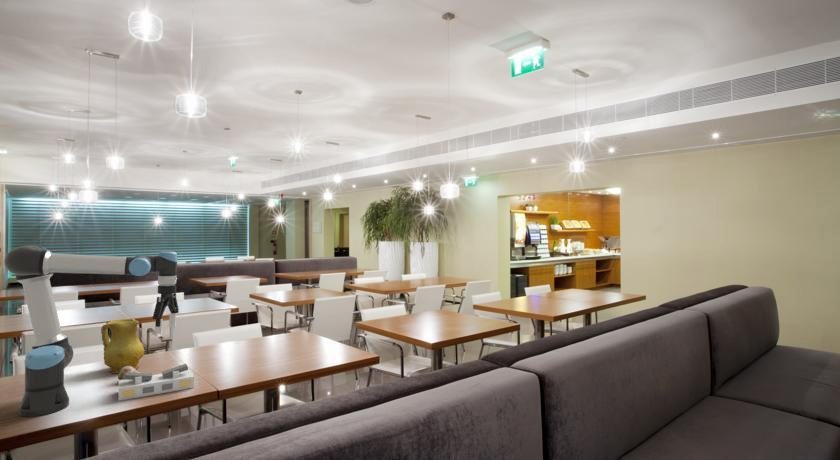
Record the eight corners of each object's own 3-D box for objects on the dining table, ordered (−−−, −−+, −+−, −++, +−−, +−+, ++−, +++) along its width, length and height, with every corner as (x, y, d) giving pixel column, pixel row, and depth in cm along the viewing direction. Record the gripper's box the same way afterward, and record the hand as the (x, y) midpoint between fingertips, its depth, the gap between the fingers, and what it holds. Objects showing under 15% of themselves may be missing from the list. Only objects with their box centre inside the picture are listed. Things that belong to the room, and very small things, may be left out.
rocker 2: (163, 378, 192) (162, 374, 192) (162, 375, 197) (161, 371, 197) (188, 369, 198) (187, 366, 198) (186, 366, 202) (186, 363, 202)
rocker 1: (124, 379, 184) (125, 375, 184) (124, 376, 189) (125, 372, 189) (151, 380, 190) (152, 376, 190) (150, 377, 194) (151, 372, 194)
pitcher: (113, 376, 208) (114, 323, 210) (95, 371, 218) (96, 321, 219) (150, 368, 223) (151, 318, 224) (132, 363, 233) (133, 316, 234)
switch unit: (118, 401, 180) (118, 382, 180) (118, 391, 190) (118, 373, 190) (194, 387, 196) (194, 370, 196) (190, 379, 206) (190, 363, 206)
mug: (139, 384, 200) (126, 366, 198) (123, 392, 202) (110, 374, 200) (150, 375, 207) (138, 358, 206) (135, 382, 209) (123, 365, 208)
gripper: (162, 288, 191) (161, 336, 191) (187, 281, 216) (185, 324, 216) (144, 287, 191) (143, 336, 190) (171, 281, 215) (169, 324, 215)
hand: (165, 330), depth 203 cm, fingers open, 13 cm apart
